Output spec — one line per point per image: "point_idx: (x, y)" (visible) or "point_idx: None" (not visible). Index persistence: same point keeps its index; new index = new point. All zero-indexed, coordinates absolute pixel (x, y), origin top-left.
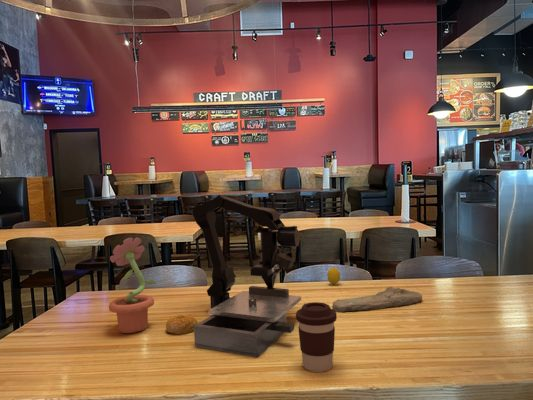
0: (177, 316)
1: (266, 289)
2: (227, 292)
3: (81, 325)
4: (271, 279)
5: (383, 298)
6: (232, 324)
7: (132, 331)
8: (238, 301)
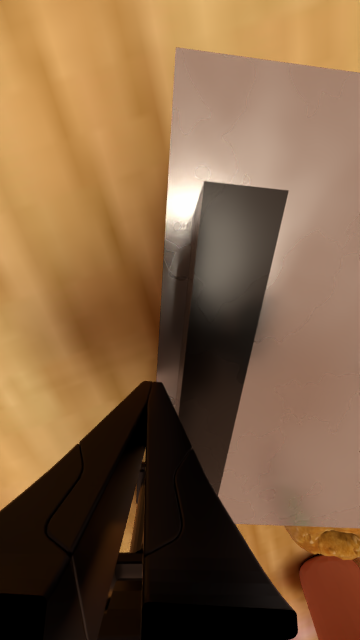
0: (333, 552)
1: (233, 423)
2: (141, 549)
3: (305, 623)
4: (222, 512)
5: None
6: None
7: (357, 565)
8: (340, 481)
